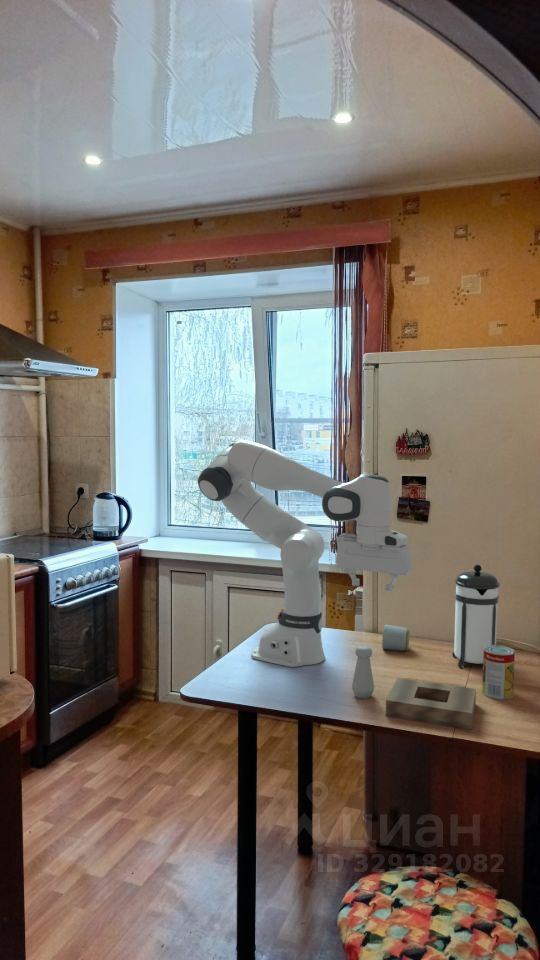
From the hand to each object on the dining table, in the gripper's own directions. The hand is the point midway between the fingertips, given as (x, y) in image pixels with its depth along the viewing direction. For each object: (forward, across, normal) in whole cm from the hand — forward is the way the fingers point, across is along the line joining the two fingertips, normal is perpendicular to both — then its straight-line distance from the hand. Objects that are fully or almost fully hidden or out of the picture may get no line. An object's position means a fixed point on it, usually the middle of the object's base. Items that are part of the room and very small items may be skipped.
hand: (372, 587), depth 176 cm
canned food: (+28, +29, +17) cm, 44 cm away
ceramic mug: (+28, -7, +39) cm, 48 cm away
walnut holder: (+28, +18, -3) cm, 33 cm away
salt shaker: (+28, -1, -4) cm, 28 cm away
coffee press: (+28, +18, +39) cm, 51 cm away
